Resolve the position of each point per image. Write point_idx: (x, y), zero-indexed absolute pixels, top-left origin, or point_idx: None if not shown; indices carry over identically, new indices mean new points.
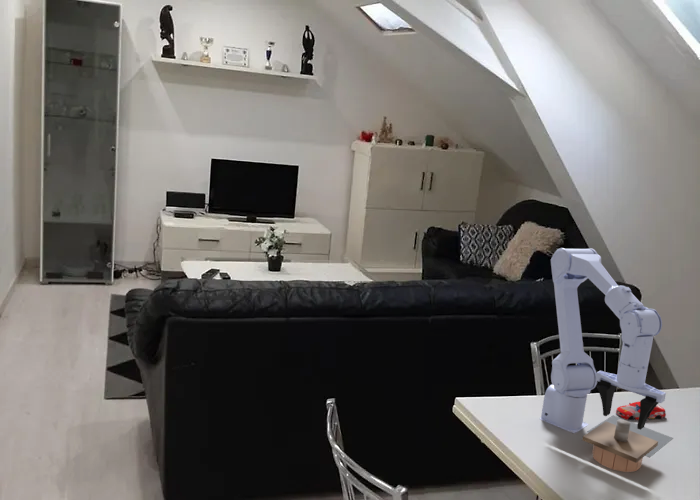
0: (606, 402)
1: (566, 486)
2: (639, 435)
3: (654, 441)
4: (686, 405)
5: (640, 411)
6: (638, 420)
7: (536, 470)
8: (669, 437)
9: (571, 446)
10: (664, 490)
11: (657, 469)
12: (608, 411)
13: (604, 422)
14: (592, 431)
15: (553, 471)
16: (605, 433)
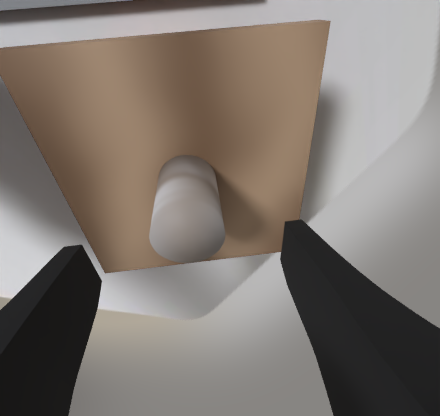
0: (73, 389)
1: (190, 304)
2: (223, 51)
3: (312, 45)
4: None
5: (329, 391)
6: (298, 311)
7: (122, 309)
8: None
9: (47, 177)
10: (348, 165)
11: None
12: (85, 285)
13: (4, 81)
14: (85, 223)
15: (140, 292)
16: (121, 194)
